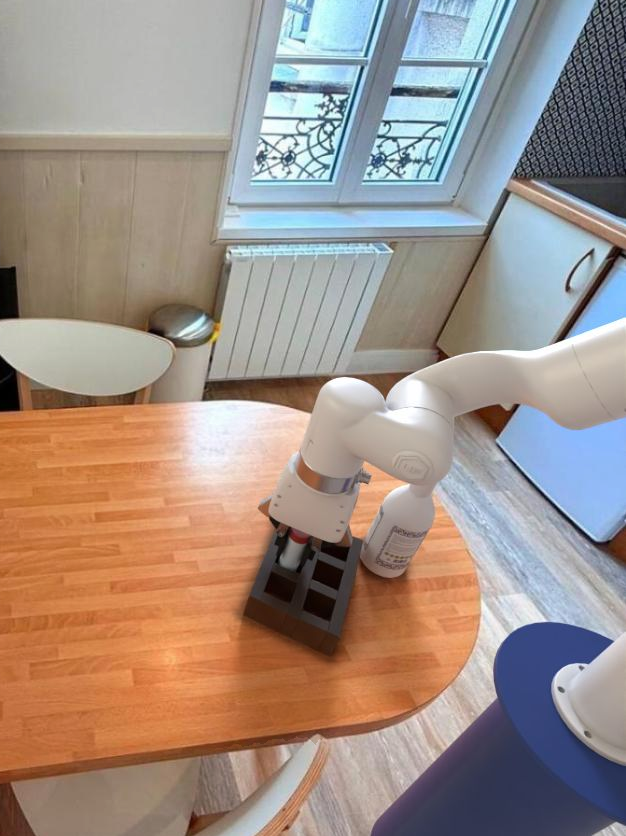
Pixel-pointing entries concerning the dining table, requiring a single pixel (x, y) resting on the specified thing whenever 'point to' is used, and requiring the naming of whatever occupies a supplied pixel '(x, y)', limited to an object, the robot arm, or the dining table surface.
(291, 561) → the test tube
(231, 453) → the dining table surface
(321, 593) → the rack
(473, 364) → the robot arm
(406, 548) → the bath foam
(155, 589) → the dining table surface
